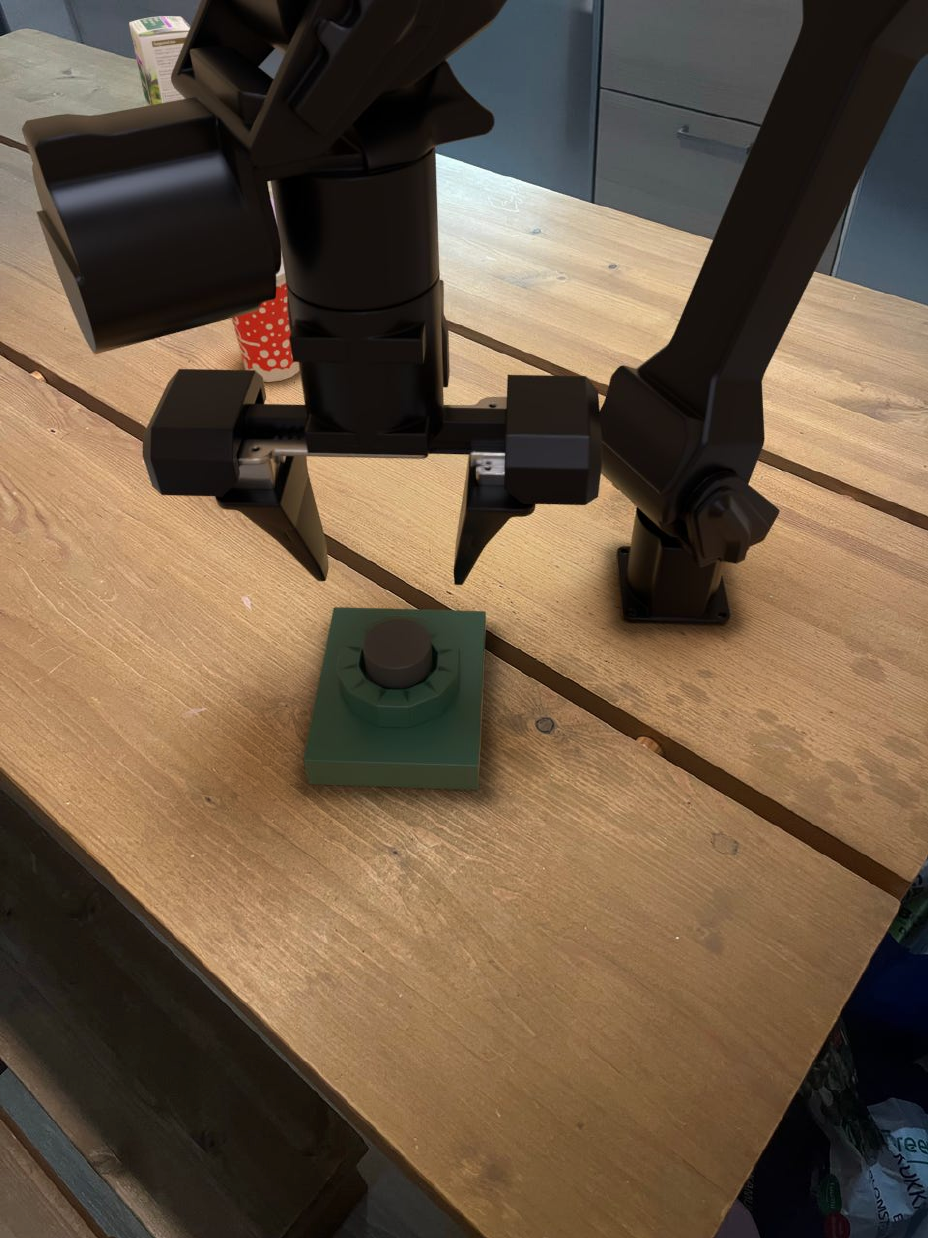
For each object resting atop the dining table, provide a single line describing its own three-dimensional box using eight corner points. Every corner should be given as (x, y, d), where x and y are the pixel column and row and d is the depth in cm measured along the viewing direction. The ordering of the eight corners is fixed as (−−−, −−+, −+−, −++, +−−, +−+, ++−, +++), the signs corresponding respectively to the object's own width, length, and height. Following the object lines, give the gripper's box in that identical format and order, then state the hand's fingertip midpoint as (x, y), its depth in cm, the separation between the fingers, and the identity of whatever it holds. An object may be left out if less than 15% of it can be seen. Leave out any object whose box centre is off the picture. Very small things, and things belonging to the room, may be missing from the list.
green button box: (478, 790, 50) (478, 745, 47) (308, 784, 50) (297, 739, 47) (485, 636, 57) (485, 588, 55) (337, 632, 58) (330, 584, 55)
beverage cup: (229, 355, 80) (193, 185, 70) (301, 341, 81) (275, 172, 71) (244, 393, 76) (208, 218, 66) (319, 377, 77) (295, 204, 67)
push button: (429, 691, 50) (428, 669, 49) (361, 689, 50) (358, 667, 49) (434, 640, 52) (433, 618, 51) (369, 638, 53) (367, 616, 51)
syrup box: (158, 166, 108) (124, 19, 97) (209, 157, 109) (181, 12, 99) (170, 185, 104) (135, 34, 94) (222, 175, 106) (194, 26, 95)
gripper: (604, 186, 41) (577, 479, 52) (172, 182, 41) (238, 471, 53) (620, 319, 33) (584, 628, 44) (89, 311, 34) (187, 617, 45)
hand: (391, 576), depth 47 cm, fingers open, 6 cm apart
